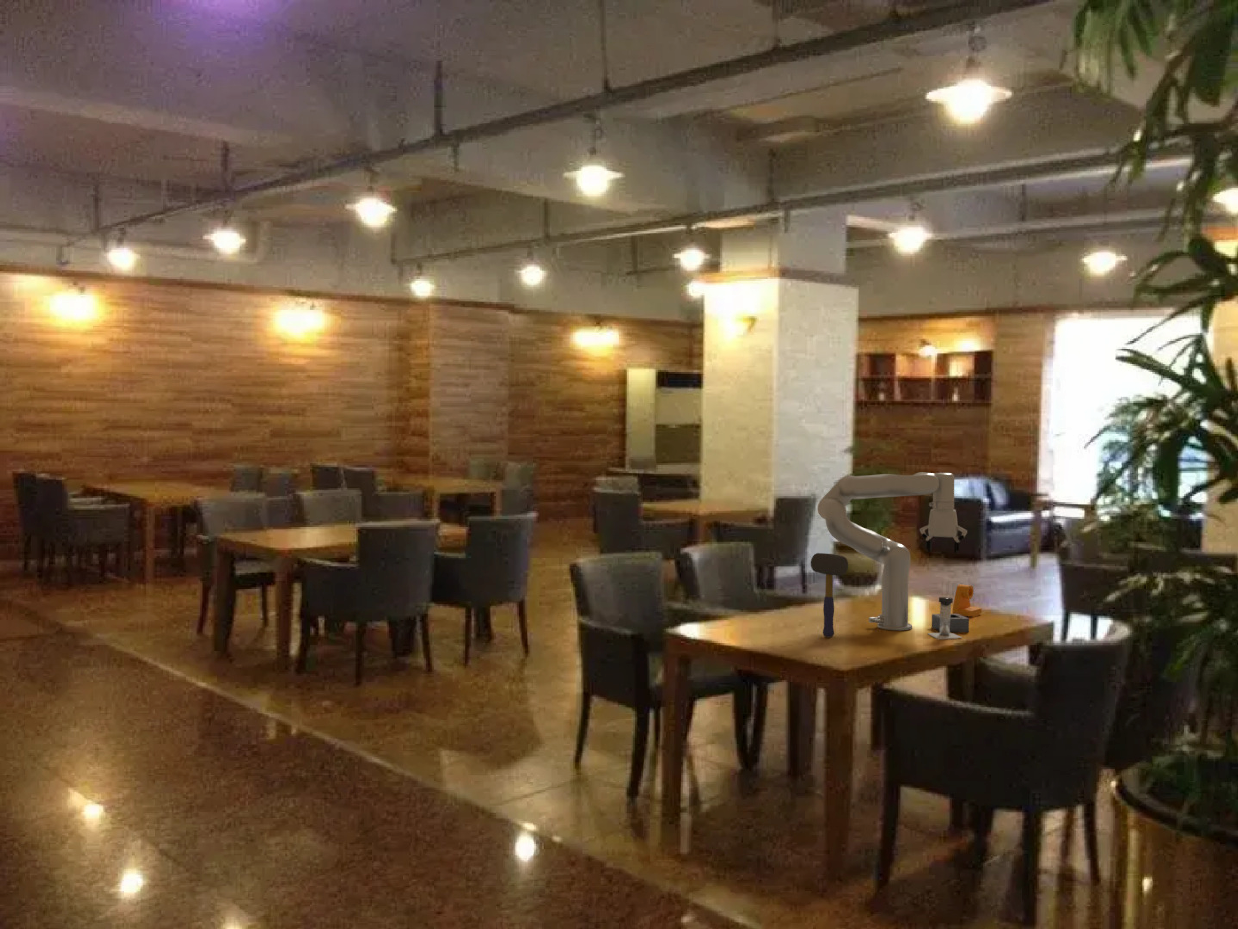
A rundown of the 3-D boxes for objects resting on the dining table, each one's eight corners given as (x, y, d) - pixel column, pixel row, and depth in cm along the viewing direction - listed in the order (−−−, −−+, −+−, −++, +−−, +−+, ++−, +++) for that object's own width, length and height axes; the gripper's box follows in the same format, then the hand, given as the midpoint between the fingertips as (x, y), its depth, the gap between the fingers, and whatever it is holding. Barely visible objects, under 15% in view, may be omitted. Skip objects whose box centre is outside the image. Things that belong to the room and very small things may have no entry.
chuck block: (942, 632, 420) (942, 619, 420) (931, 627, 430) (931, 614, 430) (968, 632, 421) (968, 618, 421) (957, 627, 431) (957, 613, 431)
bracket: (969, 618, 449) (970, 587, 449) (952, 616, 454) (953, 585, 454) (982, 614, 457) (982, 584, 456) (965, 612, 462) (965, 582, 461)
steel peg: (950, 637, 410) (951, 599, 409) (936, 635, 412) (938, 598, 411) (952, 634, 414) (953, 597, 413) (938, 633, 416) (939, 596, 415)
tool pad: (937, 639, 408) (937, 638, 408) (927, 634, 417) (927, 633, 417) (962, 639, 409) (962, 637, 409) (951, 634, 418) (951, 632, 418)
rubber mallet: (849, 638, 408) (850, 554, 407) (835, 641, 404) (836, 556, 402) (821, 633, 418) (822, 551, 416) (808, 636, 413) (808, 552, 411)
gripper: (917, 506, 429) (917, 551, 430) (965, 507, 421) (964, 554, 421) (922, 504, 435) (922, 549, 436) (969, 506, 427) (968, 552, 428)
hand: (943, 552), depth 429 cm, fingers open, 9 cm apart
